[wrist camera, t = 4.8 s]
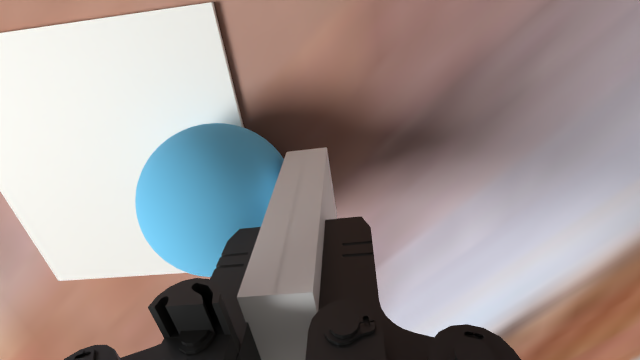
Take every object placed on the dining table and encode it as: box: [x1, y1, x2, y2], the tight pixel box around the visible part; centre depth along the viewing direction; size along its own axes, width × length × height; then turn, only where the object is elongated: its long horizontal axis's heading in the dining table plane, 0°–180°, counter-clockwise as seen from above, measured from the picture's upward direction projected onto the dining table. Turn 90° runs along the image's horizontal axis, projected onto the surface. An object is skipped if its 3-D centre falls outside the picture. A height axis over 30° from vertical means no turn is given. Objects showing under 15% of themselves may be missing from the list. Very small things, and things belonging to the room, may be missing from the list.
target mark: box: [0, 2, 244, 281], centre depth 16 cm, size 12×12×1 cm
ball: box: [135, 123, 284, 277], centre depth 13 cm, size 6×6×6 cm
